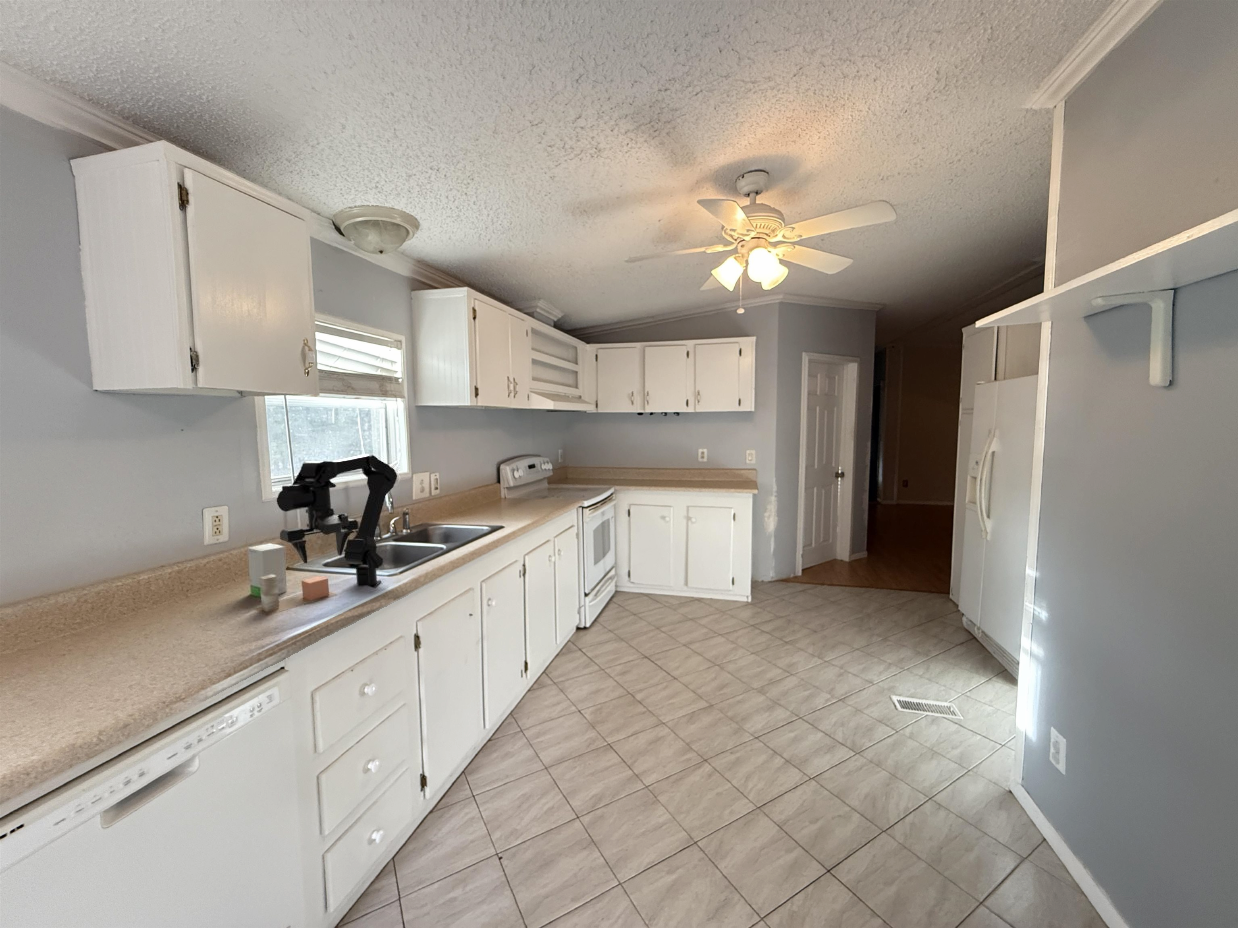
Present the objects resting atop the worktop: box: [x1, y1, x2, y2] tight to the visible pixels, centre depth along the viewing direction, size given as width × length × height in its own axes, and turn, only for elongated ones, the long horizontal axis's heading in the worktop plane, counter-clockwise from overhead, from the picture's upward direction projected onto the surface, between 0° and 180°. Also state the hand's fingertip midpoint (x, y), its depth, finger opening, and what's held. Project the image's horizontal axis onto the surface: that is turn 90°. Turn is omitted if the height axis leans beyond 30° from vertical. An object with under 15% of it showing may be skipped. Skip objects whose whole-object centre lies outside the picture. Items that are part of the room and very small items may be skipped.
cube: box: [301, 575, 330, 600], centre depth 143 cm, size 5×5×5 cm
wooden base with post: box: [253, 575, 338, 616], centre depth 138 cm, size 18×9×10 cm, turn 145°
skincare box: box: [247, 542, 287, 598], centre depth 146 cm, size 8×7×16 cm
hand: (323, 559), depth 140 cm, fingers open, 9 cm apart
